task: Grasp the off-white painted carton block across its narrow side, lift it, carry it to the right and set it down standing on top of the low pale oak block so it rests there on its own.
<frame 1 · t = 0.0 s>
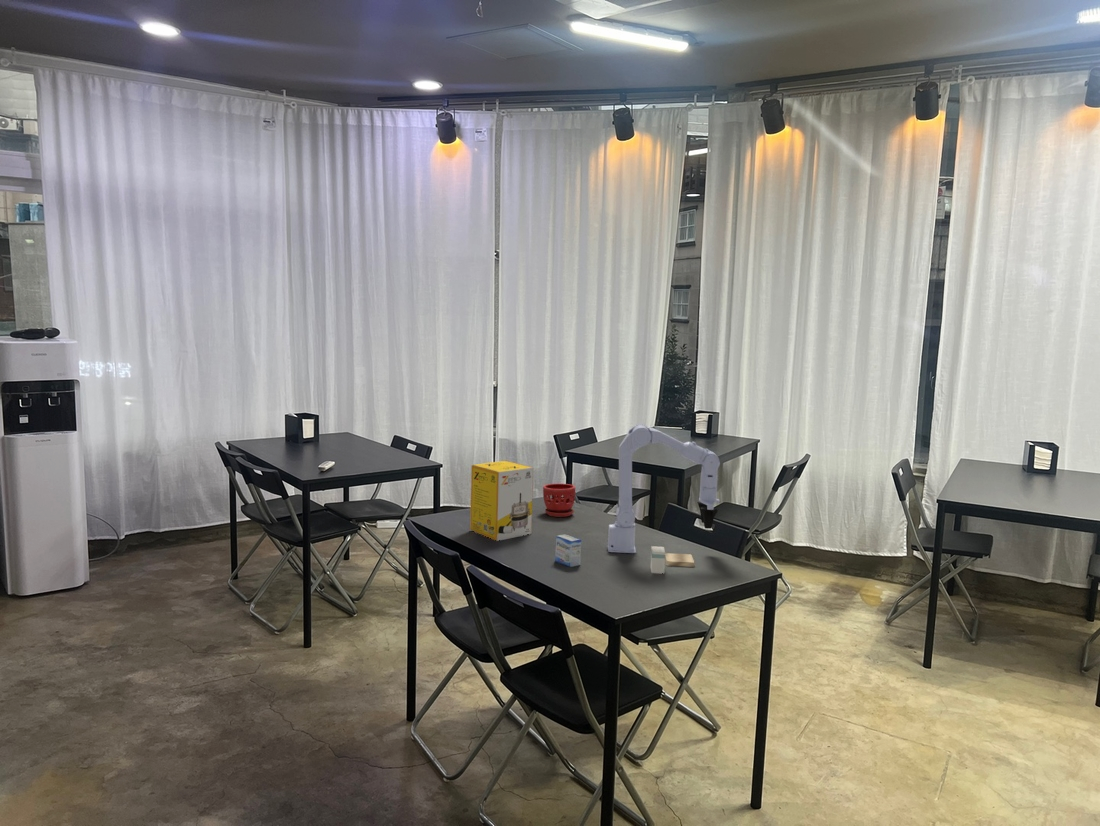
hand: (706, 525, 275), 10 cm above the table, fingers open, 7 cm apart
plant pot: (558, 515, 324), on the table
oak block: (678, 563, 265), on the table
carton block: (657, 570, 256), on the table
medicine box: (567, 563, 260), on the table
packaging box: (500, 533, 295), on the table
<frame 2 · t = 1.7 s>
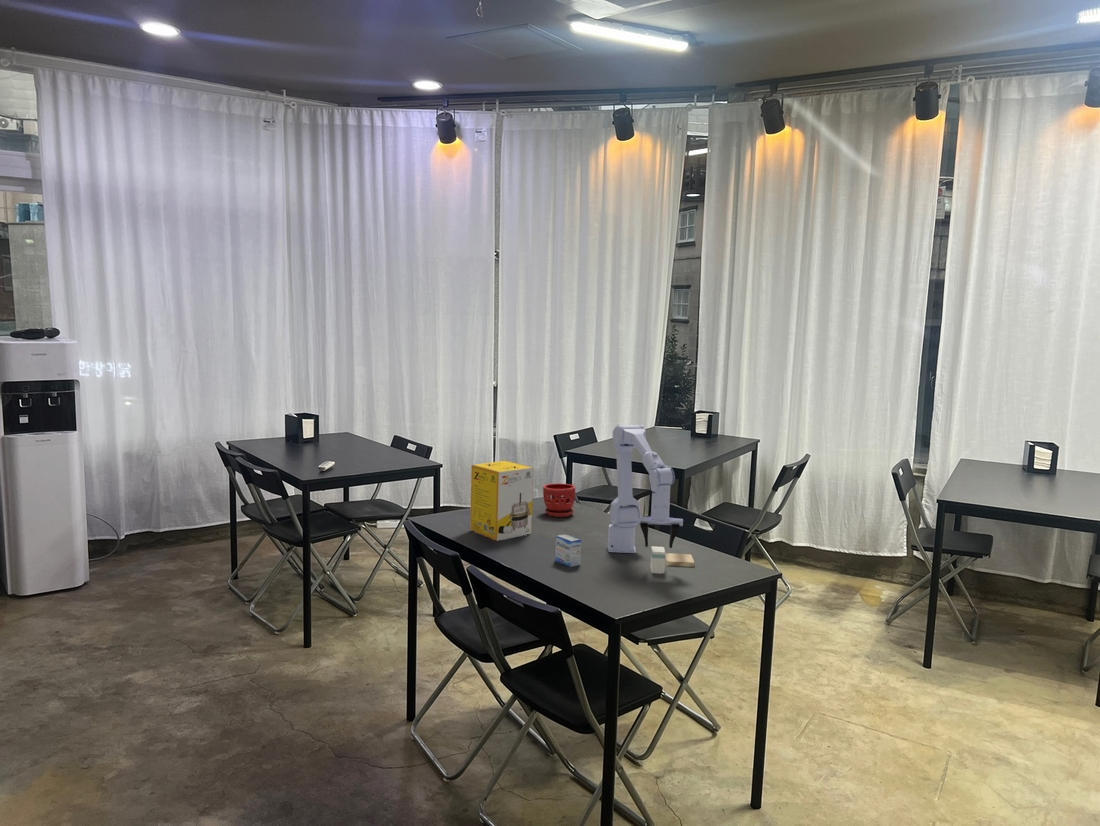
hand: (658, 546, 255), 8 cm above the table, fingers open, 7 cm apart
nothing on the table moved.
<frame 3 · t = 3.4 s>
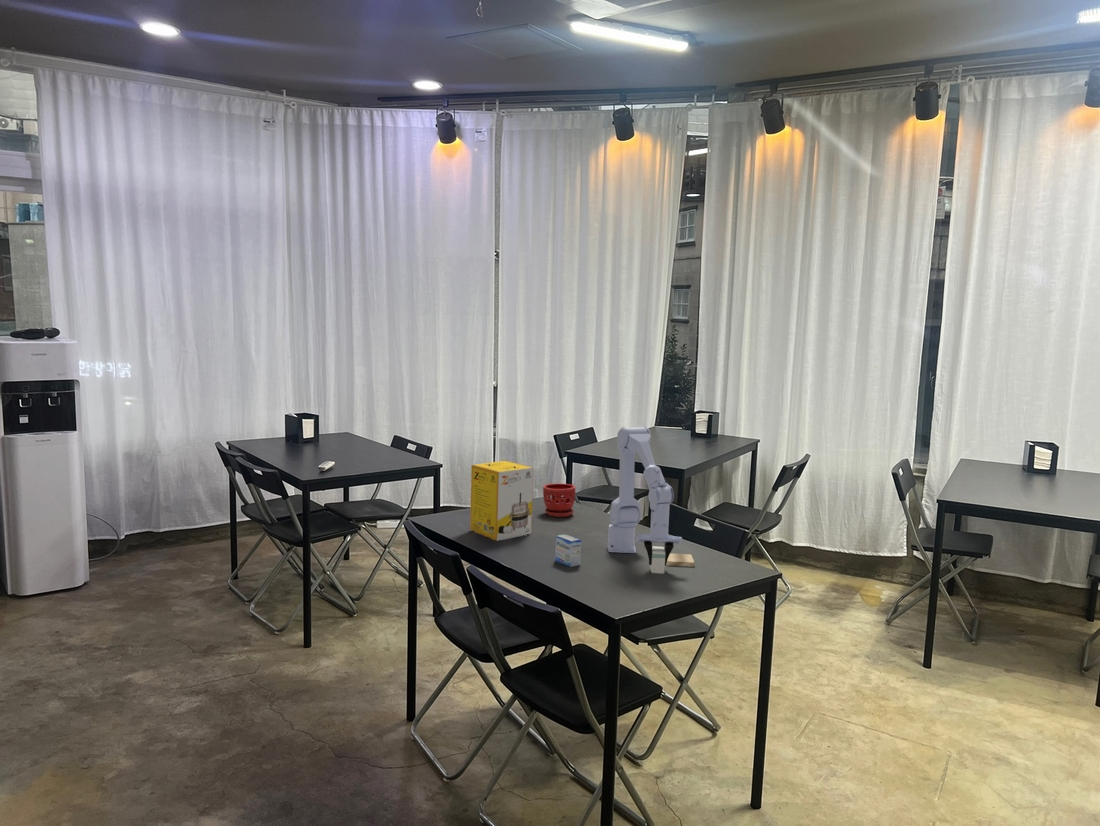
hand: (657, 564, 256), 2 cm above the table, fingers closed on carton block, 4 cm apart
carton block: (657, 570, 256), on the table, touching gripper
everything else where it was.
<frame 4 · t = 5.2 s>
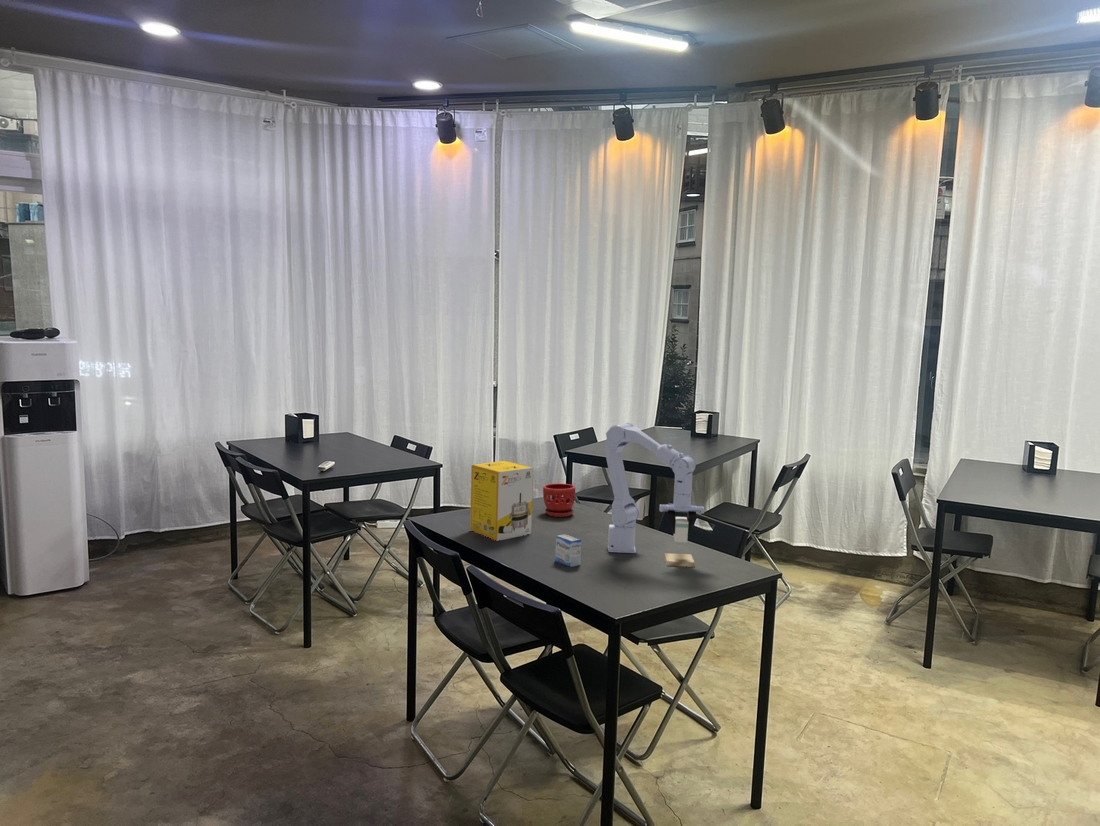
hand: (680, 533, 264), 10 cm above the table, fingers closed on carton block, 4 cm apart
carton block: (680, 539, 264), point 8 cm above the table, touching gripper
everything else where it was.
when the fingers open (5 cm above the table, at t = 7.2 s): carton block drops 1 cm, point 1 cm above the table.
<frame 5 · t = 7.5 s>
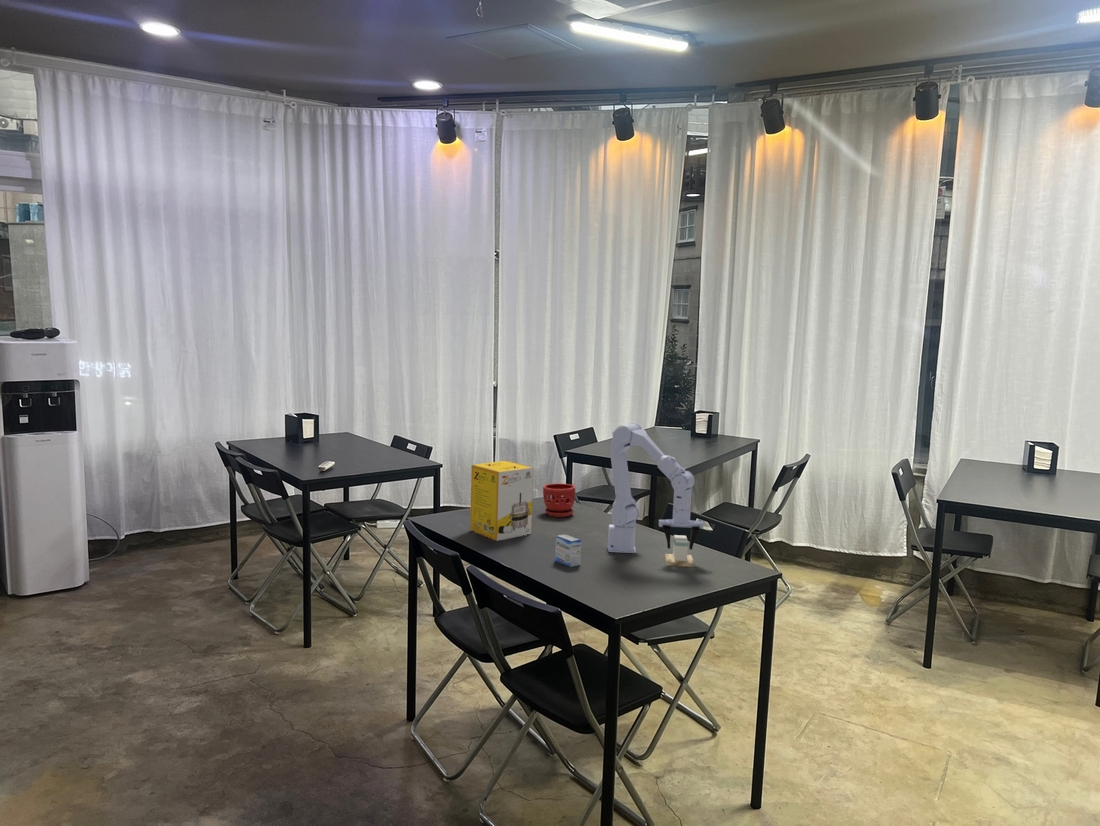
hand: (679, 548, 265), 5 cm above the table, fingers open, 7 cm apart
carton block: (679, 558, 265), point 1 cm above the table
everything else where it was.
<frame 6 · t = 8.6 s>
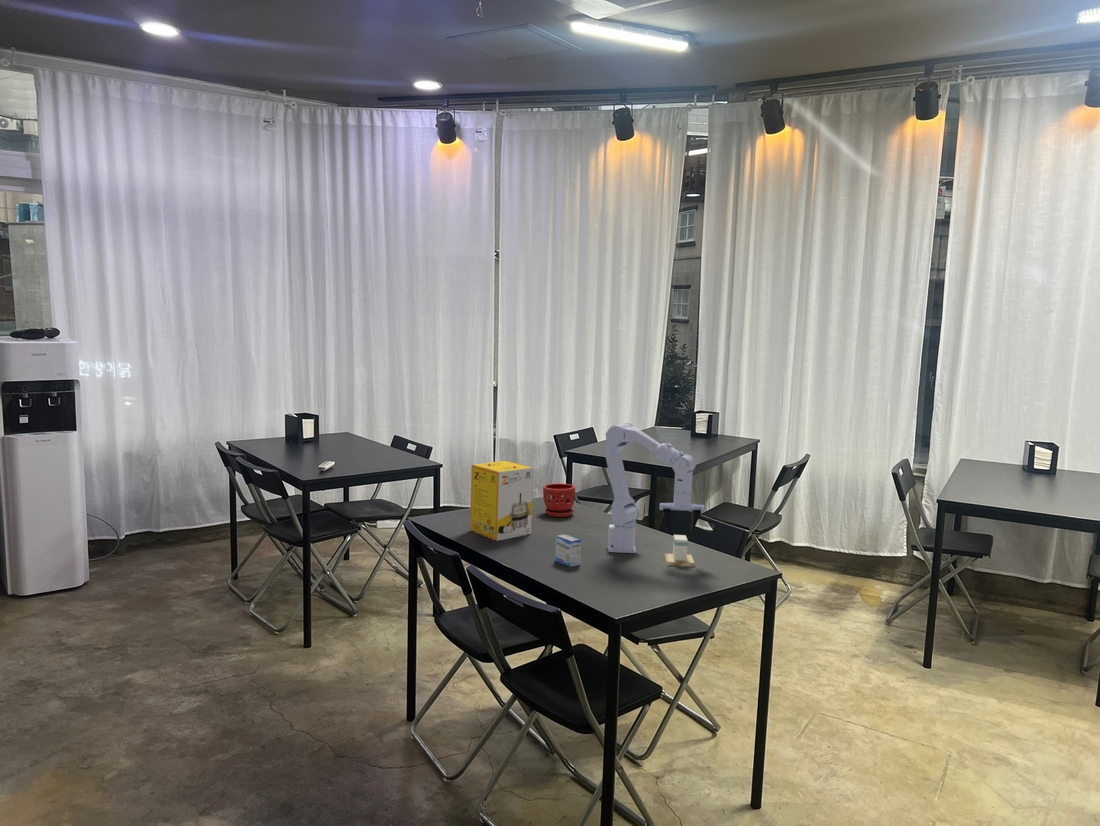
hand: (680, 531, 264), 10 cm above the table, fingers open, 7 cm apart
oak block: (678, 563, 265), on the table, touching carton block
carton block: (679, 557, 265), point 1 cm above the table, touching oak block
everything else where it was.
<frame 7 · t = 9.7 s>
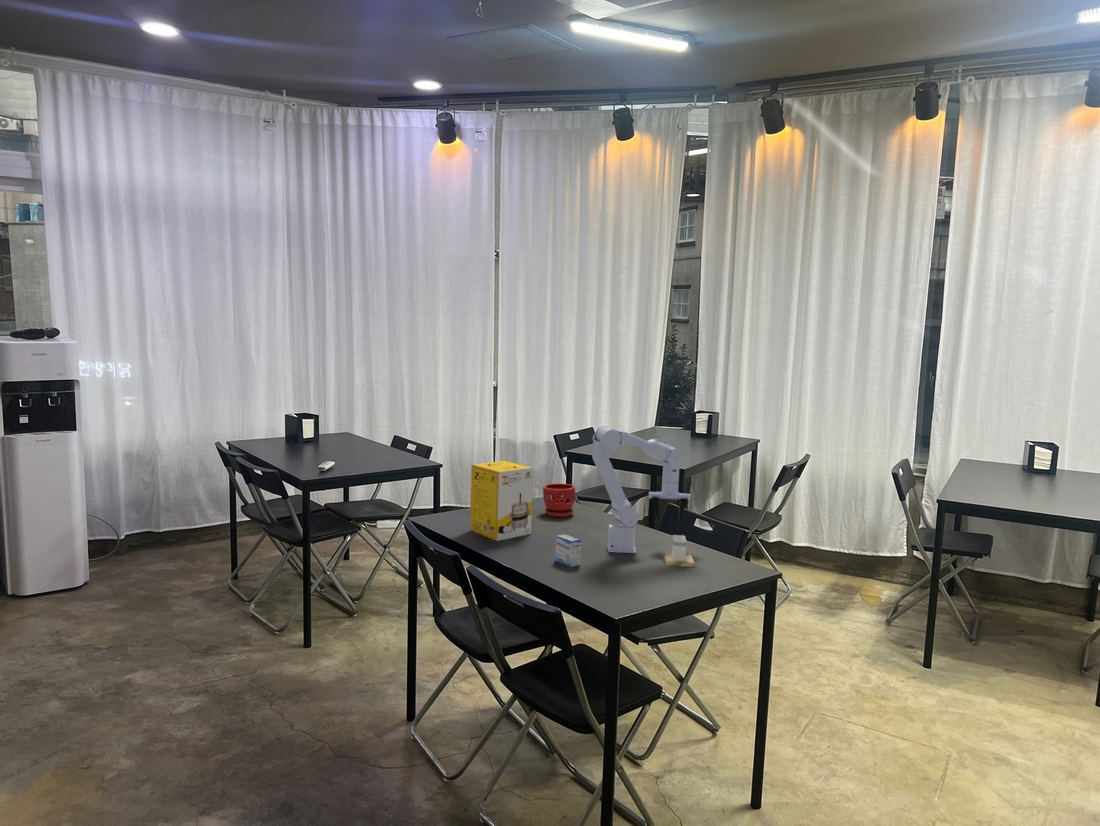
hand: (668, 519, 281), 10 cm above the table, fingers open, 7 cm apart
nothing on the table moved.
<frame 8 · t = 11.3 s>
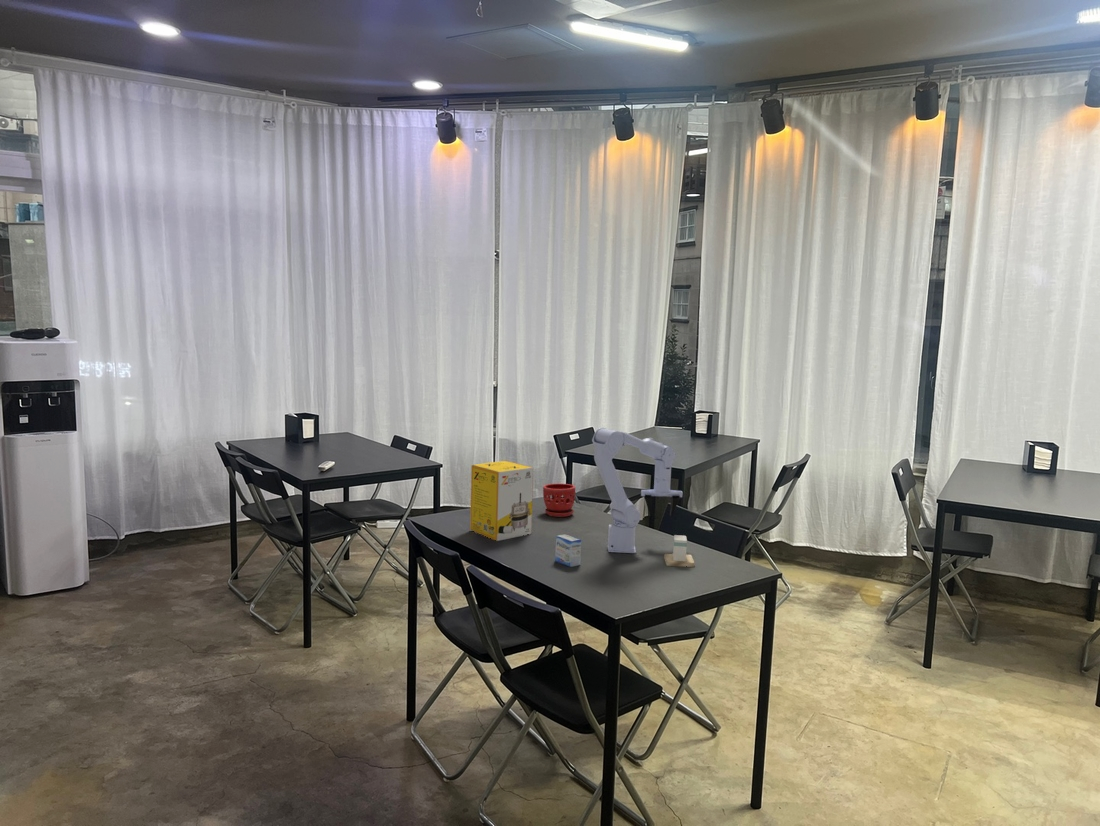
hand: (660, 516, 284), 10 cm above the table, fingers open, 7 cm apart
nothing on the table moved.
at the end: carton block inside the target area on the oak block (0.2 cm from its centre), point 2.0 cm above the oak block's base; carton block tilted 1°; the gripper is holding nothing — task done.
